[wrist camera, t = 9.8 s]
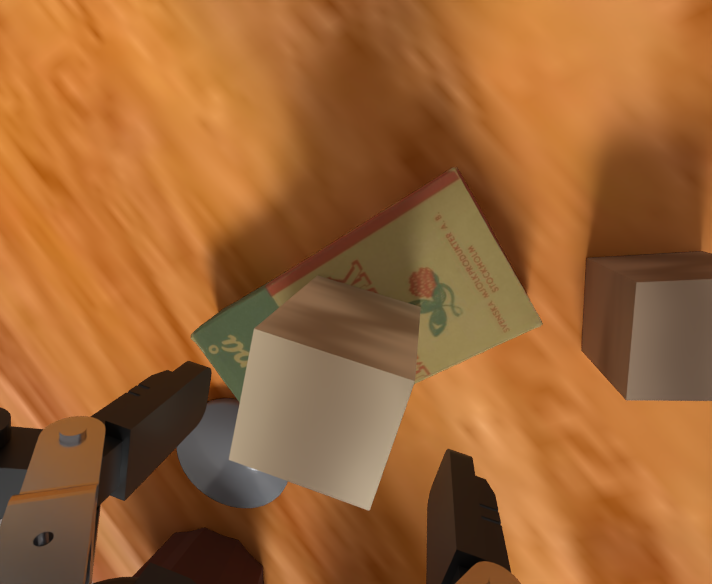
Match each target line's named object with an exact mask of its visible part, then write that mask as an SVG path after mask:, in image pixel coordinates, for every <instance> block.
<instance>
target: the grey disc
mask: <svg viewBox="0 0 712 584" xmlns="http://www.w3.org/2000/svg"><path fill="white" fill-rule="evenodd" d="M239 404H240V403H239V401H238V400H237V399H232V398H221V399H215V400H211V401H208V402H207V406H206V410H205V413H204V416H203V418H202V419H201V421H200V423H199V424H198V425H197V427H196V428H195V429H194V430H193V431H192V432H191V433H190V434H189V435H188V436H187V437H186V438H185V439H184V440H183V441H182V442H181V443H180V444H179V445H178V446H177V454H178V458H179V461H180V464H181V466H182V468H183V470H184V472H185V474H186V475H187V477H188V478H189V479H190V481H191V482H192V483H193V484H194V485H195V486H196V487H197V488H198V489H199V490H200V491H201V492H203V493H204V494H205V495H207V496H208V497H210V498H212V499H213V500H215V501H217V502H220V503H222V504H225V505H228V506H232V507H237V508H255V507H259V506H263V505H265V504H268V503H270V502H271V501H273V500H274V499H276V498H277V497H278V496H279V495H280V494H281V492H282V491H283V490H284V488H285V486H286V484H287V482H288V481H286V480H283V479H280V478H278V477H275V476H272V475H269V474H267V473H264V472H261V471H258V470H256V469H253V468H250V467H247V466H245V465H242V464H239V463H236V462H234V461H231V460H229V456H230V451H231V445H232V440H233V435H234V430H235V425H236V420H237V414H238V409H239Z"/></svg>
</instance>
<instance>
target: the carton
mask: <svg viewBox="0 0 712 584" xmlns="http://www.w3.org/2000/svg"><path fill="white" fill-rule="evenodd" d="M317 275H318V276H321V277H324V278H328V279H331V280H334V281H338V282H341V283H344V284H347V285H351V286H354V287H357V288H360V289H364V290H367V291H370V292H373V293H377V294H380V295H383V296H386V297H390V298H393V299H396V300H399V301H403V302H406V303H409V304H413V305H416V306H419V307H421V311H420V324H419V336H418V349H417V362H416V375H415V383H417V382H420V381H422V380H424V379H426V378H428V377H431V376H433V375H435V374H437V373H439V372H441V371H444V370H446V369H448V368H450V367H452V366H454V365H457V364H459V363H461V362H463V361H465V360H467V359H469V358H471V357H474V356H476V355H478V354H480V353H482V352H485V351H487V350H489V349H491V348H493V347H495V346H497V345H499V344H502V343H504V342H506V341H508V340H510V339H513V338H515V337H517V336H519V335H521V334H523V333H526V332H528V331H530V330H532V329H535V328H537V327H540V326H541V325H542V324H543V323H542V321H541V319H540V317H539V315H538V313H537V312H536V310H535V308H534V307H533V305H532V303H531V301H530V299H529V297H528V296H527V294H526V292H525V290H524V288H523V287H522V285H521V283H520V281H519V279H518V278H517V276H516V274H515V272H514V270H513V268H512V267H511V265H510V263H509V261H508V259H507V257H506V255H505V254H504V252H503V250H502V248H501V246H500V244H499V242H498V240H497V239H496V237H495V235H494V233H493V231H492V229H491V227H490V225H489V223H488V221H487V219H486V218H485V216H484V214H483V212H482V210H481V209H480V207H479V205H478V203H477V201H476V200H475V198H474V196H473V194H472V193H471V191H470V189H469V187H468V185H467V184H466V182H465V180H464V178H463V177H462V175H461V173H460V171H459V170H458V168H457V167H452V168H450V169H449V170H447V171H446V172H444V173H443V174H441V175H440V176H438V177H437V178H435V179H434V180H432V181H430V182H429V183H427V184H426V185H424V186H423V187H421V188H419V189H418V190H416V191H415V192H413V193H411V194H410V195H408V196H406V197H405V198H403V199H401V200H400V201H398V202H396V203H395V204H393V205H392V206H390V207H388V208H387V209H385V210H383V211H382V212H380V213H379V214H377V215H376V216H374V217H372V218H371V219H369V220H368V221H366V222H364V223H363V224H361V225H360V226H358V227H356V228H355V229H353V230H352V231H350V232H348V233H347V234H345V235H344V236H342V237H340V238H339V239H337V240H336V241H334V242H332V243H331V244H329V245H328V246H326V247H325V248H323V249H321V250H320V251H318V252H317V253H315V254H314V255H312V256H310V257H309V258H307V259H305V260H304V261H302V262H301V263H299V264H297V265H296V266H294V267H292V268H291V269H289V270H288V271H286V272H284V273H283V274H281V275H279V276H278V277H276V278H275V279H273V280H271V281H270V282H268V283H266V284H265V285H263V286H261V287H260V288H258V289H256V290H255V291H253V292H251V293H250V294H248V295H246V296H245V297H243V298H241V299H240V300H238V301H236V302H234V303H233V304H231V305H229V306H227V307H225V308H224V309H222V310H221V311H220V312H219V313H217V314H216V315H214V316H213V317H212V318H211V319H209V320H208V321H207V322H205V323H204V324H202V325H201V326H200V327H199V328H197V329H196V330H195V331H194V332H193V333H192V334H191V339H192V340H193V341H194V342H195V343H196V344H197V345H198V346H199V348H200V349H201V350H202V352H203V353H204V354H205V356H206V357H207V358H208V360H209V361H210V363H211V364H212V365H213V367H214V368H215V370H216V371H217V372H218V374H219V375H220V376H221V378H222V379H223V381H224V382H225V384H226V385H227V386H228V388H229V389H230V390H231V391H232V393H233V394H234V395H235V397H236V398H237V400H238V401H239V403H240V399H241V394H242V388H243V383H244V378H245V373H246V368H247V362H248V357H249V352H250V347H251V342H252V337H253V331H254V328H255V327H257V326H258V325H259V324H260V323H261V322H263V321H264V320H265V319H266V318H267V317H268V316H270V315H271V314H272V313H273V312H274V311H276V310H277V309H278V308H279V307H280V306H282V305H283V304H284V303H285V302H286V301H288V300H289V299H290V298H291V297H292V296H294V295H295V294H296V293H297V292H298V291H299V290H301V289H302V288H303V287H304V286H305V285H307V284H308V283H309V282H310V281H311V280H313V279H314V278H315V277H316V276H317ZM415 383H414V384H415Z"/></svg>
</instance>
